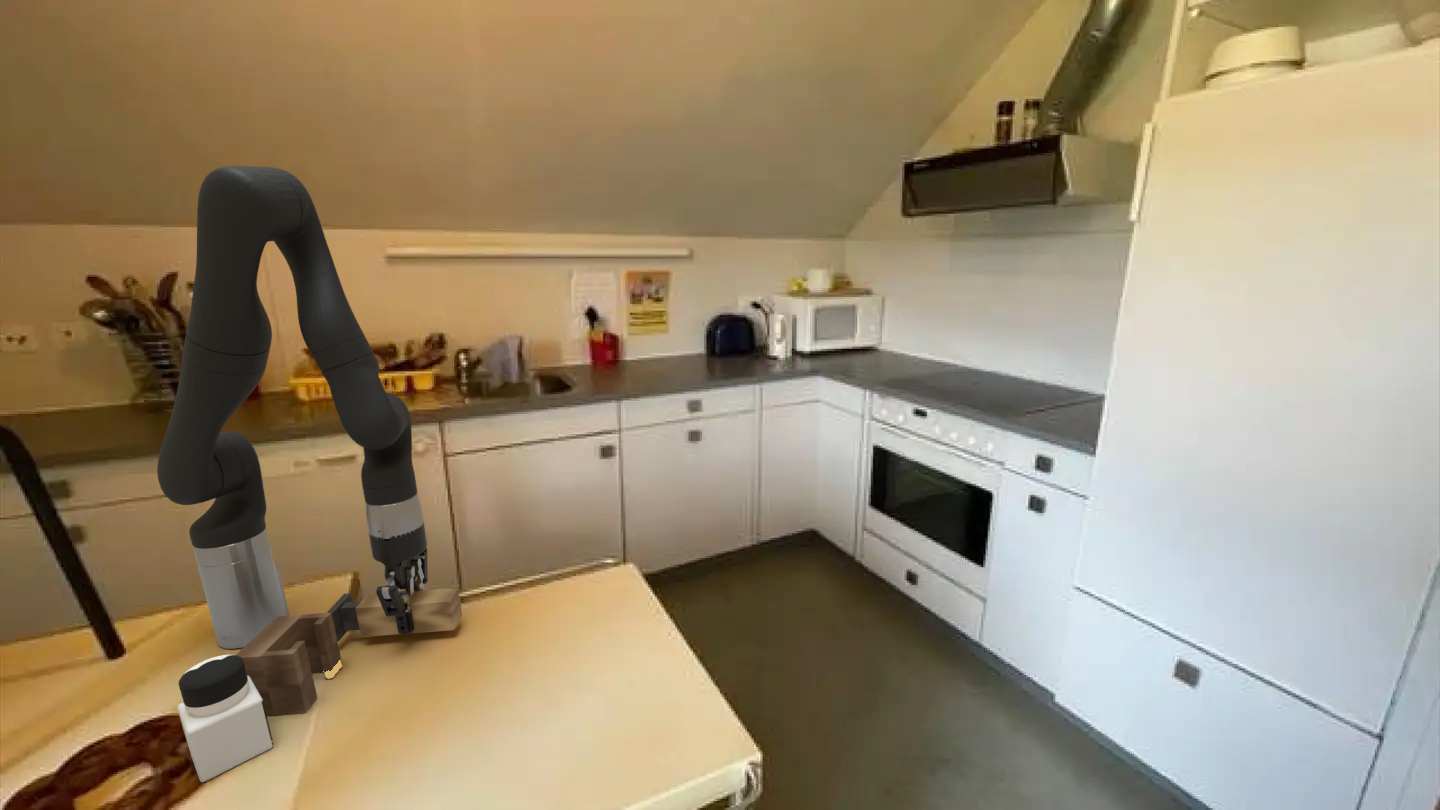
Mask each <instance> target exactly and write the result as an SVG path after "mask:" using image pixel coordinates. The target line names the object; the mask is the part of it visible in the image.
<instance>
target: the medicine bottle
mask: <svg viewBox="0 0 1440 810" xmlns="http://www.w3.org/2000/svg"><path fill="white" fill-rule="evenodd" d="M178 688H179V690H180V695H181V697H182V701H183V702H181V703H179V704H178V705H177V712H178V714H179V718H180V722H181V725H182V729H183V733H184V736H185V739H186V740H185V741H186V742H187V746H188V749H189V753H190V757H191V759H192V762H193V765H194V768H195V771H196V773H197V776H198V779H199V781H200V782H201V783H205V782H208V781H209V780H211V779H214V778H215V777H218V776H219V775H221V774H223V773H225V772H227V771H229V770H232V769H233V768H235V767H237V766H238V765H242V764H243V763H245V762H247V761H249V760H251V759H253V758H255V757H257V756H259V755H261V754H262V753H265V752H267V751H269V750H270V749H272V748H273V747H274V740H273V736H272V733H271V732H272V731H271V728H270V724H269V720H268V716H267V715H266V711H265V707H264V703H263V699H262V698H261V696H260V694H259V692H258V691H257V689H256V687H255V685H254V683H253V682H252V680H251V678H250V677H249V676H247V673H246V669H245V665H244V661H243V659H242V658H241V657H239V656H237V655H236V654H223V655H219V656H218V655H217V656H214V657H211V658H208V659H205V660H203V661H200V662H199V663H196V664H195V665H193V666H192V667H190V668H189V669H187V670H186V671H185V672H184V673H183V674H182V676H181V677H180V679H179V681H178Z"/></svg>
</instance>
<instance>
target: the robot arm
mask: <svg viewBox="0 0 1440 810" xmlns="http://www.w3.org/2000/svg"><path fill="white" fill-rule="evenodd" d="M196 210H197V212H196V216H197V217H196V261H195V274H194V280H193V281H194V282H193V289H192V294H191V295H192V298H191V305H190V312H189V317H188V322H187V326H186V331H185V336H184V337H185V338H184V344H183V349H182V357H181V366H180V374H179V379H178V386H177V390H176V395H175V401H174V404H173V409H172V413H171V416H170V419H169V423H168V426H167V429H166V432H165V434H164V438H163V441H162V444H161V448H160V451H159V455H158V457H157V458H158V460H157V468H156V471H157V472H156V473H157V480H158V485H159V486H160V489H161V491H162V493H163V495H164V496H165V497H166V498H167V499H168V500H169V501H171V502H172V503H175V504H177V505H181V506H192V505H197V504H201V503H205V502H208V501H211V500H213V499H214V501H213V503H212V504H211V506H210V507H209V508H208V510H206V511H205V513H203V514H202V515H201V516H200V517H199V518H197V519H196V520H195V521H194V522H193V523H192V524H191V526H190V527H189V532H188V533H189V539H190V542H191V545H192V549H193V553H194V556H195V557H194V558H195V561H196V564H197V568H198V572H199V577H200V580H201V585H202V588H203V590H204V595H205V600H206V603H207V606H208V610H209V614H210V617H211V618H210V619H211V622H212V627H213V630H214V634H215V638H216V642H217V645H218V646H219V647H220V648H223V649H229V650H230V649H240V648H241V649H243V648H244V647H245V646H246V645H247V644H248V643H249V642H250V641H251V640H252V639H253V638H254V637H256V636H257V635H258V634H259V633H260V632H261V631H262V630H263V629H264V628H265V627H266V626H267V625H269V624H270V623H271V622H272V621H273V620H274V619H275V618H276V617H280V616H290V611H289V606H288V603H287V599H286V598H287V597H286V594H285V589H284V584H283V580H282V575H281V571H280V568H279V564H276V563H275V560H274V555H273V550H272V545H271V543H270V537H269V533H268V528H267V525H266V520H265V519H266V515H267V503H266V502H267V501H266V496H265V489H264V482H263V476H262V469H261V464H260V460H259V457H258V454H257V452H256V449H255V448H254V446H253V444H252V443H251V442H250V440H248V438H246V436H244V435H242V434H240V432H235V431H225V432H223V431H222V429H223V428H224V426H225V425H226V423H227V421H228V420H229V419H230V418H231V417H232V415H234V413H235V412H237V410H238V409H239V407H241V406H242V405H243V403H244V402H245V401H246V400H247V399H248V398H249V396H250V395H251V394H252V392H253V391H254V390H255V389H256V387H257V386H258V385H259V384H260V382H261V380H262V378H263V376H264V375H265V372H266V368H267V364H268V360H269V354H270V352H271V351H270V350H271V345H272V340H273V339H272V338H273V330H272V326H271V321H270V318H269V316H268V313H267V311H266V308H265V306H264V304H263V302H262V299H261V297H260V295H259V292H258V285H257V283H258V274H259V268H260V263H261V258H262V255H263V253H264V250H265V246H266V245H267V243H268V242H274V244H275V245H276V247H277V248H278V250H279V252H280V253H281V254H282V255H283V258H284V259H285V260H286V263H287V265H288V267H289V270H290V272H291V276H292V278H293V284H294V287H295V288H294V289H295V294H296V295H295V296H296V308H297V319H298V324H299V331H300V332H301V336H302V338H303V341H304V343H305V345H306V347H307V350H308V351H309V354H310V355H311V356H312V358H313V360H314V363H315V364H316V366H317V368H318V369H319V371H320V373H321V374H322V376H323V377H324V380H326V383H327V385H328V388H329V390H330V395H331V398H332V400H333V402H334V406H335V409H336V412H337V416H338V417H339V420H340V423H341V424H342V427H343V428H344V430H345V432H346V434H347V435H348V436H349V438H350V439H351V440H352V441H353V442H355V443H356V444H357V446H360V447H362V448H363V452H364V455H363V456H364V459H363V463H362V467H361V471H360V477H361V485H362V491H363V498H364V501H365V503H364V504H365V520H366V525H367V531H368V537H369V545H370V549H371V555H372V558H373V559H374V560H375V561H376V562H379V563H381V564H383V565H384V579H385V583H384V585H382V586H377V587H376V593H375V594H377V596H378V598H379V601H380V603H381V605H382V607H383V610H384V612H385V614H386V616H387V617H389V616H395V617H396V623H397V629H398V632H399V633H400V634H399V635H404V634H405V635H406V634H407V633H408V634H413V633H412V632H413V630H414V623H413V616H412V610H411V596H412V595H413V594H414V591H423V590H425V586H424V585H425V584H426V585H427V583H428V580H429V579H428V570H429V569H428V547H427V546H428V541H427V536H426V535H427V534H426V529H425V522H424V514H423V509H422V508H423V507H422V503H421V499H420V497H419V493H418V488H417V481H416V474H415V470H414V465H413V442H412V441H413V440H412V439H413V438H412V437H413V436H412V434H413V433H412V432H413V431H412V421H411V415H410V411H409V408H408V406H407V404H406V403H405V402H404V401H403V399H402V398H400V397H399V396H397V395H395V394H394V393H391V392H386V389H385V388H384V386H383V383H382V381H381V379H380V374H379V373H380V365H379V361H378V359H377V357H376V355H375V353H374V350H373V348H372V347H371V345H370V343H369V341H368V339H367V337H366V335H365V333H364V332H363V329H362V328H361V326H360V324H359V322H358V320H357V317H356V316H355V314H354V311H353V309H352V307H351V306H350V305H351V304H350V303H349V301H348V299H347V295H346V293H345V291H344V288H343V285H342V282H341V280H340V277H339V274H338V271H337V268H336V266H335V263H334V258H333V257H332V252H331V251H330V248H329V244H328V241H327V240H326V235H325V232H324V229H323V227H322V224H321V220H320V217H319V215H318V212H317V210H316V207H315V204H314V202H313V199H312V197H311V195H310V193H309V191H308V190H307V187H306V186H305V185H304V184H303V183H302V182H301V181H300V180H299V179H298V178H297V176H295V175H294V174H292V173H291V172H290V171H287V170H285V169H282V168H277V167H273V166H272V167H271V166H250V165H249V166H247V165H244V166H243V165H238V166H237V165H234V166H233V165H229V166H227V165H226V166H221V167H217V168H215V169H213V170H212V171H210V172H209V173H208V174H207V175H206V176H205V178H203V181H202V183H201V184H200V187H199V192H198V199H197V209H196ZM401 590H403V591H401ZM402 598H404V603H403V600H402Z"/></svg>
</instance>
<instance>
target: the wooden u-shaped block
mask: <svg viewBox="0 0 1440 810" xmlns="http://www.w3.org/2000/svg"><path fill="white" fill-rule="evenodd" d="M235 655H237V656H239V657H241V658H242V659H243V661H244V665H245V669H246V673H247V676H249V677H250V678H251V680H252V682H253V683H254V685H255V687H256V689H257V691H258V692H259V694H260V696H261V698H262V699H263V703H264V707H265V711H266V715H267V717H274V716H286V715H296V714H307V712H308V711H309V710H310V708H311V707H312V706H313V705H314V703H315V702H316V701H317V700H316V698H317V699H318V693H317V691H316V685H315V681H314V678H313V677H314V676H313V674H317V673H318V674H319V673H324V672H326V671H328V670H329V671H331V670H332V669H333V667H334V666H335V665H336V664H337V663H338V661H339V660H340V659H341V660H342V657H341V656H342V655H341V653H340V648H339V642H337V637H336V632H335V627H334V622H333V618H332V613H327V612H321V613H319V612H318V613H310V614H309V613H308V614H298V615H297V614H296V615H288V616H280V617H276V618H275V619H274V620H273V621H272V622H271V623H270V624H269V625H267V626H266V627H265V628H264V629H263V630H262V631H261V632H260V633H259V634H258V635H257V636H256V637H254V638H253V639H252V640H251V641H250V642H249V643H248V644H247V645H246V646H245V647H242V648H241V649H240V650H239V651H238V652H237V653H236V654H235ZM323 671H324V672H323Z"/></svg>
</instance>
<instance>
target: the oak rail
mask: <svg viewBox="0 0 1440 810" xmlns="http://www.w3.org/2000/svg"><path fill="white" fill-rule="evenodd" d="M459 590H460V589H459V587H457V588H456V587H455V588H454V587H453V588H441V589H440V588H439V589H424V590H423V591H414V594H413V595H412V596H411V610H412V616H413V623H414V630H413V632H412V633H411V634H420V633H430V632H431V633H433V632H444V631H445V632H446V631H448V632H449V631H454V630H455V629H457V626H458V624H459V622H460V620H461V619H462V617H463V613H462V611H463V610H462V605H461V604H462V603H461V599H460V598H461V597H460V592H459ZM402 600H403V603H404V598H402ZM326 613H332V618H333V622H334V627H335V632H336V637H337V642H338V643H339V642H340V641H341V640H342V639H343V637H344V636H345V635H346V633H347V632H351V631H359V635H360V638H366V637H367V638H368V637H378V636H391V635H392V636H393V635H401V634H400V633H399V632H398V629H397V623H396V617H395V616H389V617H387V616H386V614H385V612H384V610H383V607H382V605H381V603H380V601H379V598H378V596H377V593H367V594H366V596H364V598H363V599H362V600H361V601H353V597H352V593H351V592H348V593H343V594H342V595H341V596H340V597H339V599H338V600H336V602H335V603H333V605H332V606H331V607H330V608H329V610H328V611H326ZM407 634H409V633H407Z"/></svg>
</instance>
